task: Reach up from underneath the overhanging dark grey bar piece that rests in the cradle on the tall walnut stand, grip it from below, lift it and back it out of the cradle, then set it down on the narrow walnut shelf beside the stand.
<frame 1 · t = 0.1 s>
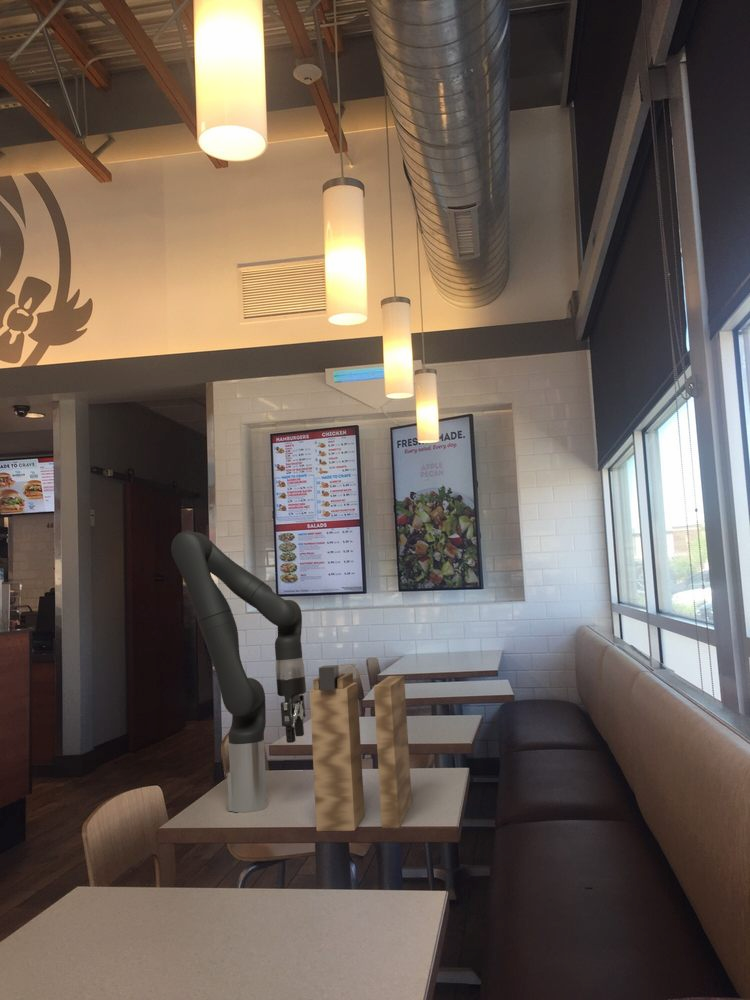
hand: (295, 739, 216), 17 cm above the table, tool pointing down, fingers open, 8 cm apart
stand: (341, 823, 197), on the table
dark grey bar piece: (339, 683, 206), point 32 cm above the table, touching stand
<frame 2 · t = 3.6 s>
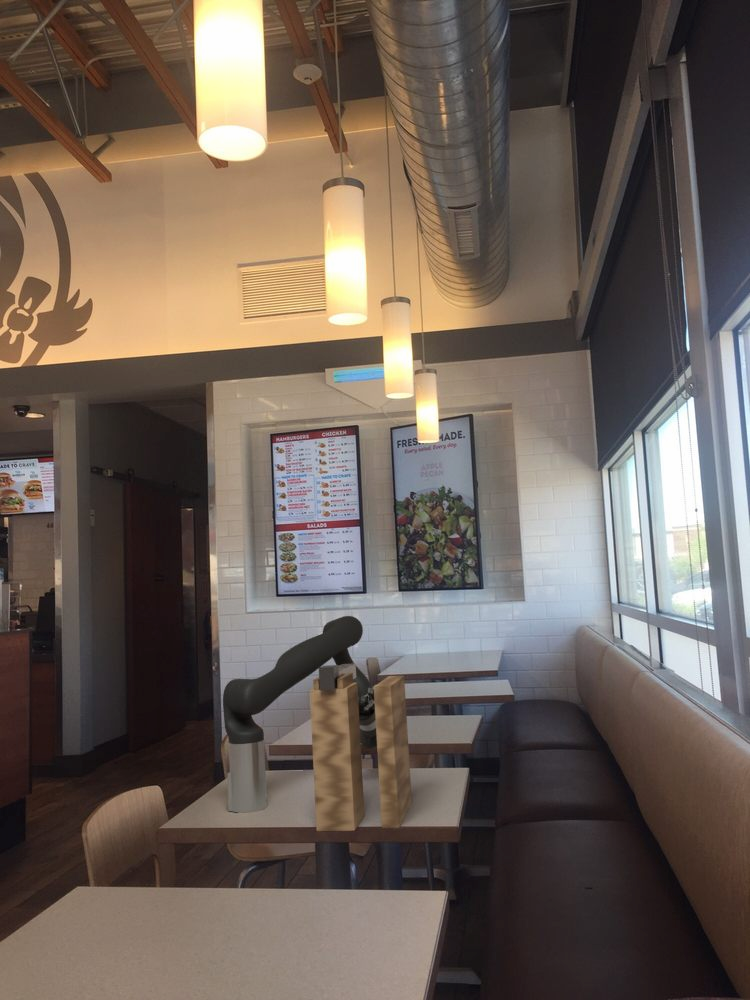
hand: (353, 690, 222), 28 cm above the table, tool pointing upward, fingers open, 8 cm apart
nothing on the table moved.
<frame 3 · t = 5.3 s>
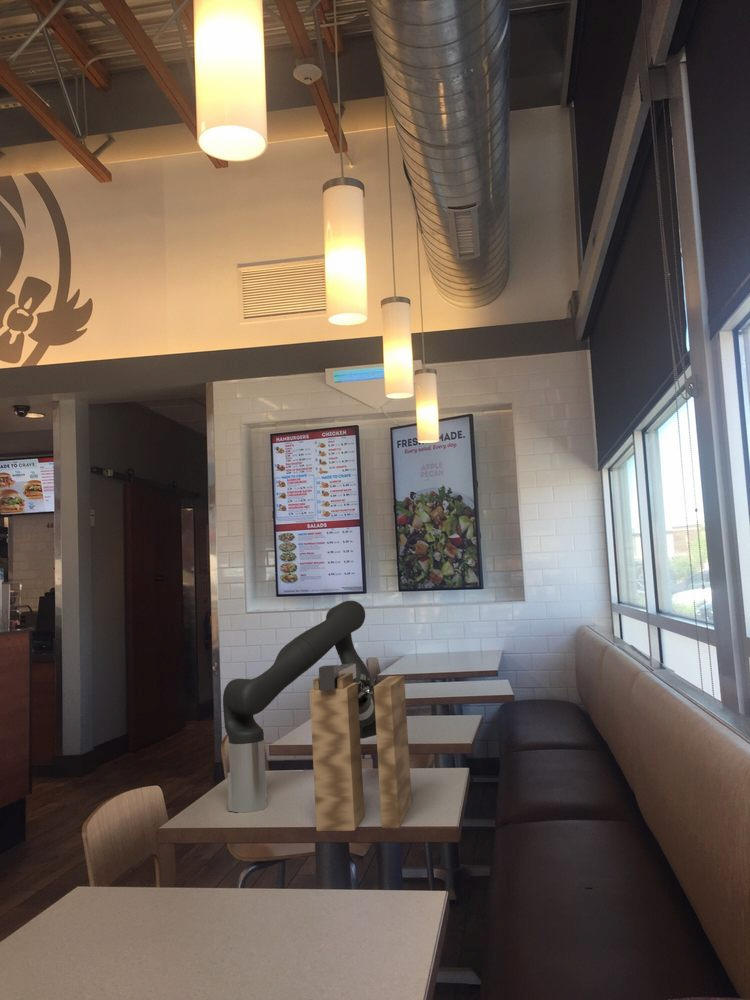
hand: (345, 677, 214), 33 cm above the table, tool pointing upward, fingers open, 8 cm apart
nothing on the table moved.
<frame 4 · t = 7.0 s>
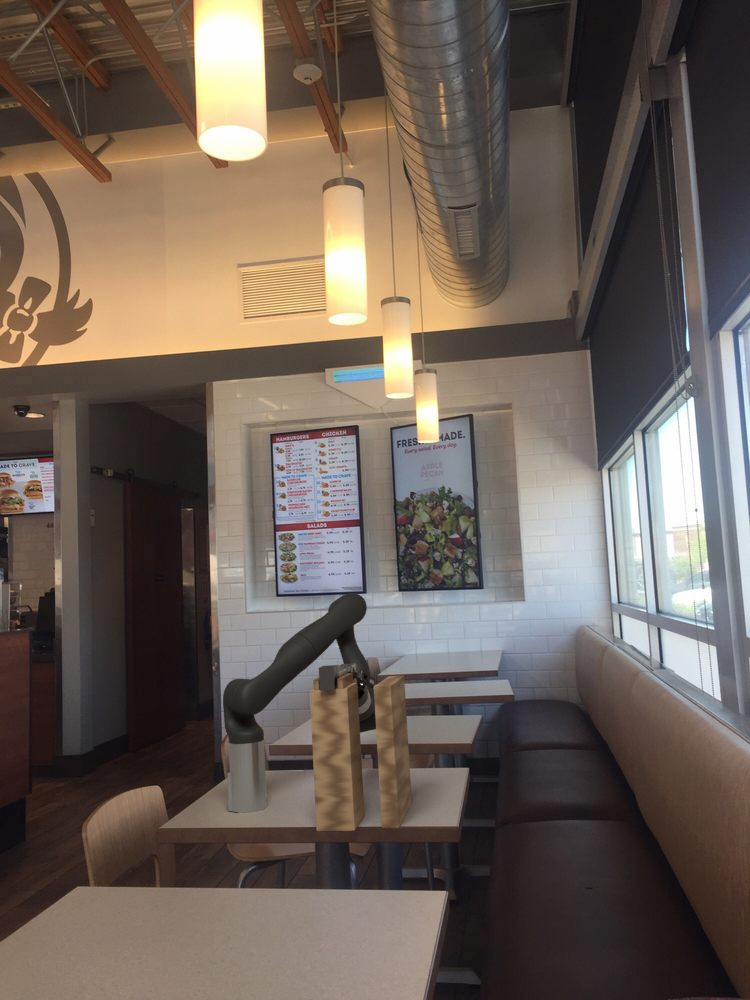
hand: (341, 669, 209), 35 cm above the table, tool pointing upward, fingers closed on dark grey bar piece, 3 cm apart
dark grey bar piece: (339, 683, 206), point 32 cm above the table, touching gripper, stand
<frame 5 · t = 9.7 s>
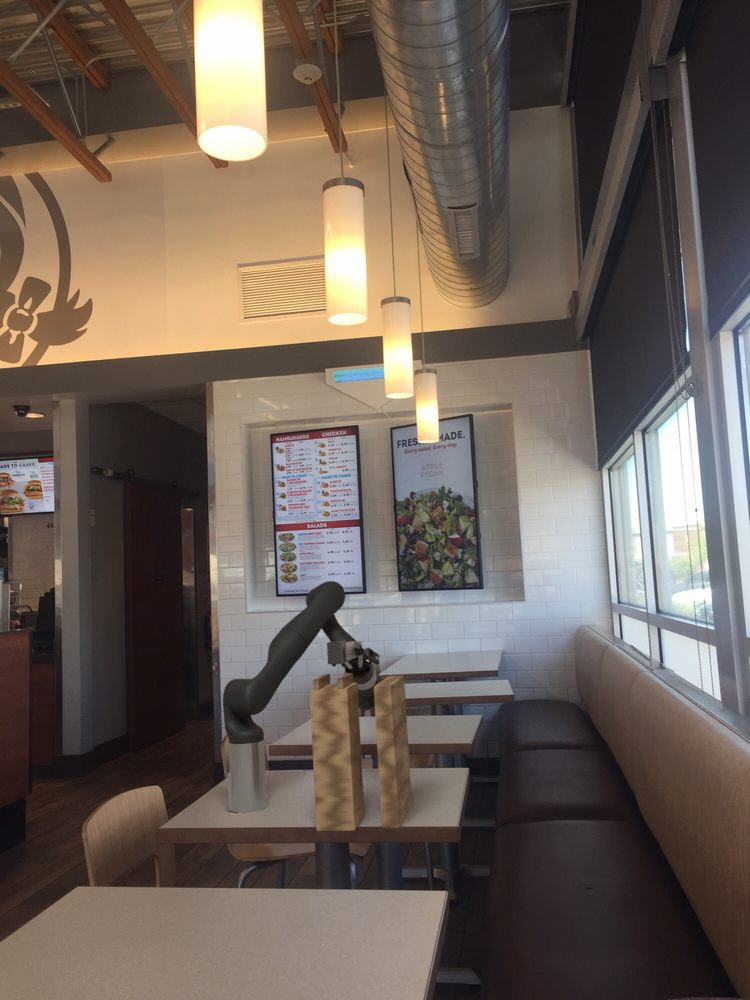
hand: (348, 645, 219), 40 cm above the table, tool pointing upward, fingers closed on dark grey bar piece, 3 cm apart
dark grey bar piece: (346, 658, 216), point 37 cm above the table, touching gripper
when the fingers open (36 cm above the table, at t = 12.2 s): dark grey bar piece drops 1 cm, resting on stand.
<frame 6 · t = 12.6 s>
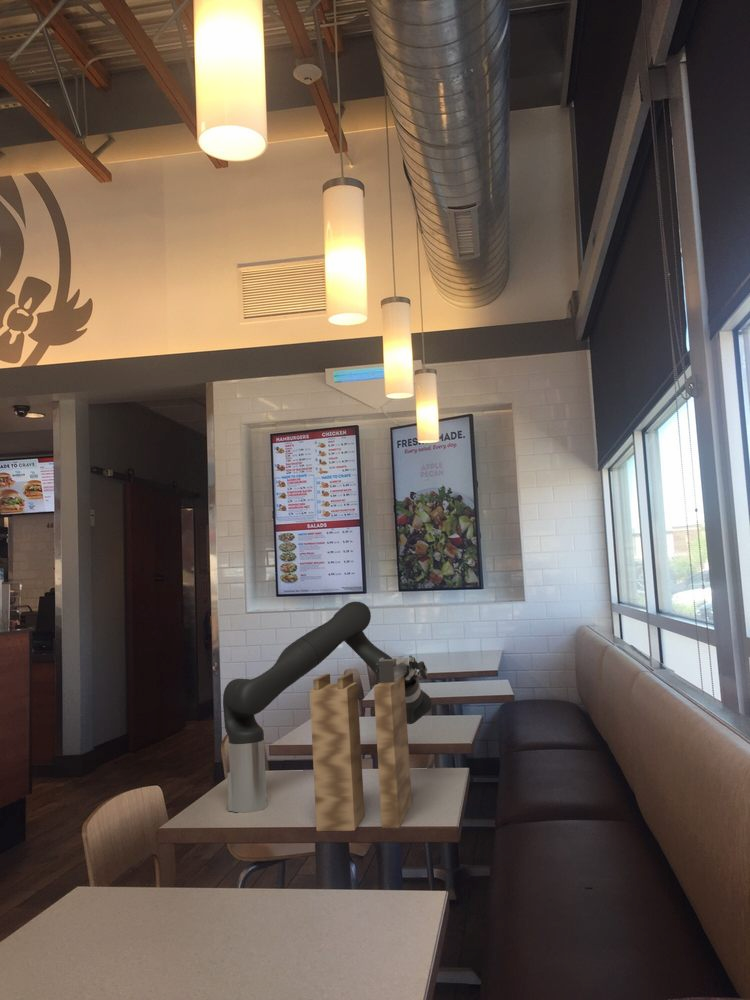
hand: (396, 659, 217), 36 cm above the table, tool pointing upward, fingers open, 7 cm apart
dark grey bar piece: (395, 676, 214), point 32 cm above the table, touching stand
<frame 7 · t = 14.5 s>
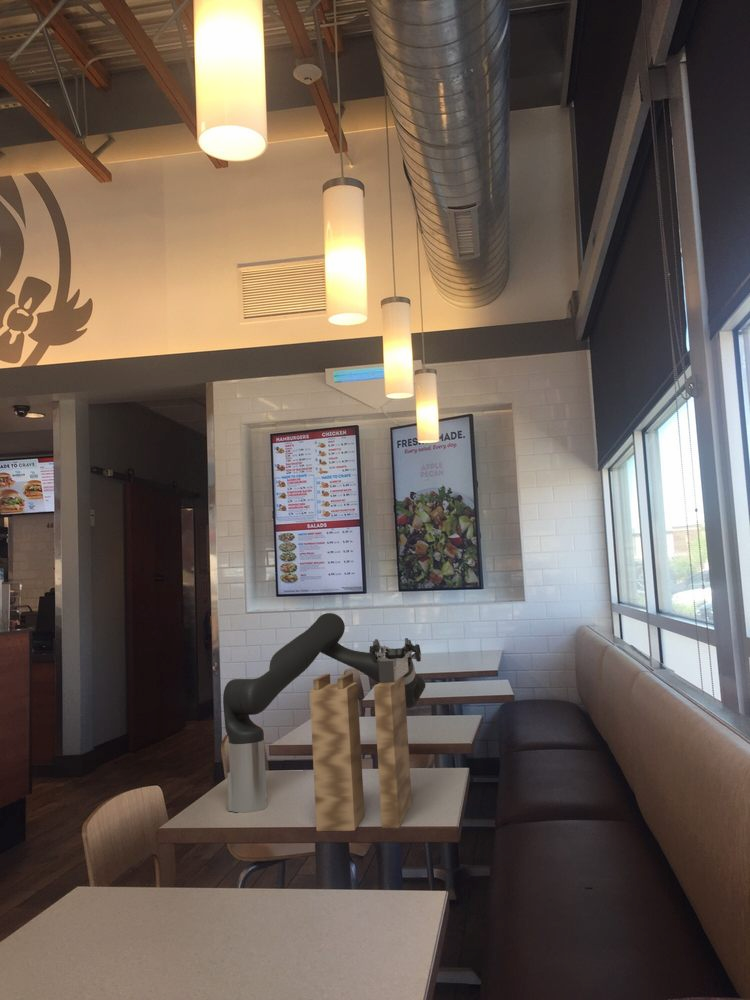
hand: (391, 641, 230), 40 cm above the table, tool pointing upward, fingers open, 8 cm apart
nothing on the table moved.
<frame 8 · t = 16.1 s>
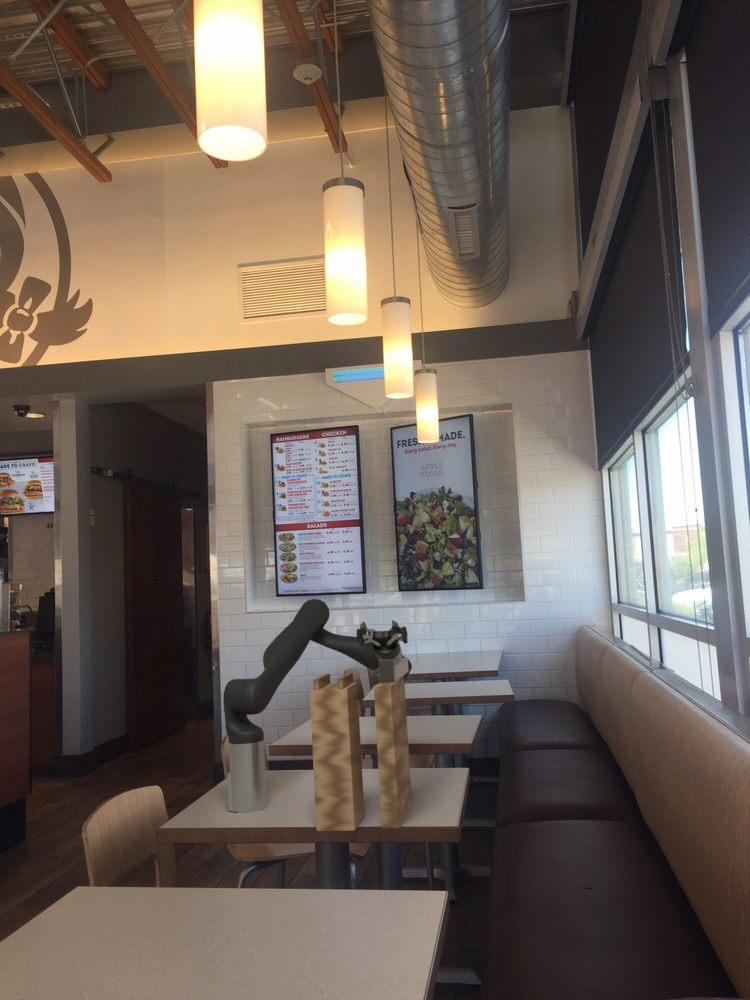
hand: (378, 624, 232), 45 cm above the table, tool pointing upward, fingers open, 8 cm apart
nothing on the table moved.
at the end: dark grey bar piece inside the target area (0.3 cm from its centre), point 32.0 cm above the table; dark grey bar piece touching stand; the gripper is holding nothing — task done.
